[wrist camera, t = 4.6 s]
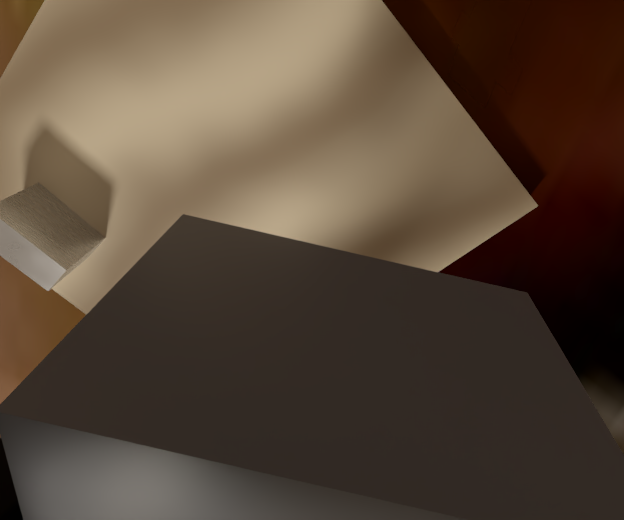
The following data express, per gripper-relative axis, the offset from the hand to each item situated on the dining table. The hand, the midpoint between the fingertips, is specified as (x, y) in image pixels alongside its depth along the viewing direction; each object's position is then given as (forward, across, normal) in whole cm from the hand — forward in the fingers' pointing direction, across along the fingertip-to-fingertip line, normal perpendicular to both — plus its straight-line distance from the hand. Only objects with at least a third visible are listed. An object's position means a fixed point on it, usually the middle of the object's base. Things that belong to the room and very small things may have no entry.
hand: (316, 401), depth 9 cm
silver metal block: (+10, +12, +4) cm, 17 cm away
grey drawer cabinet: (+1, 0, 0) cm, 1 cm away
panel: (+11, +6, +1) cm, 13 cm away
